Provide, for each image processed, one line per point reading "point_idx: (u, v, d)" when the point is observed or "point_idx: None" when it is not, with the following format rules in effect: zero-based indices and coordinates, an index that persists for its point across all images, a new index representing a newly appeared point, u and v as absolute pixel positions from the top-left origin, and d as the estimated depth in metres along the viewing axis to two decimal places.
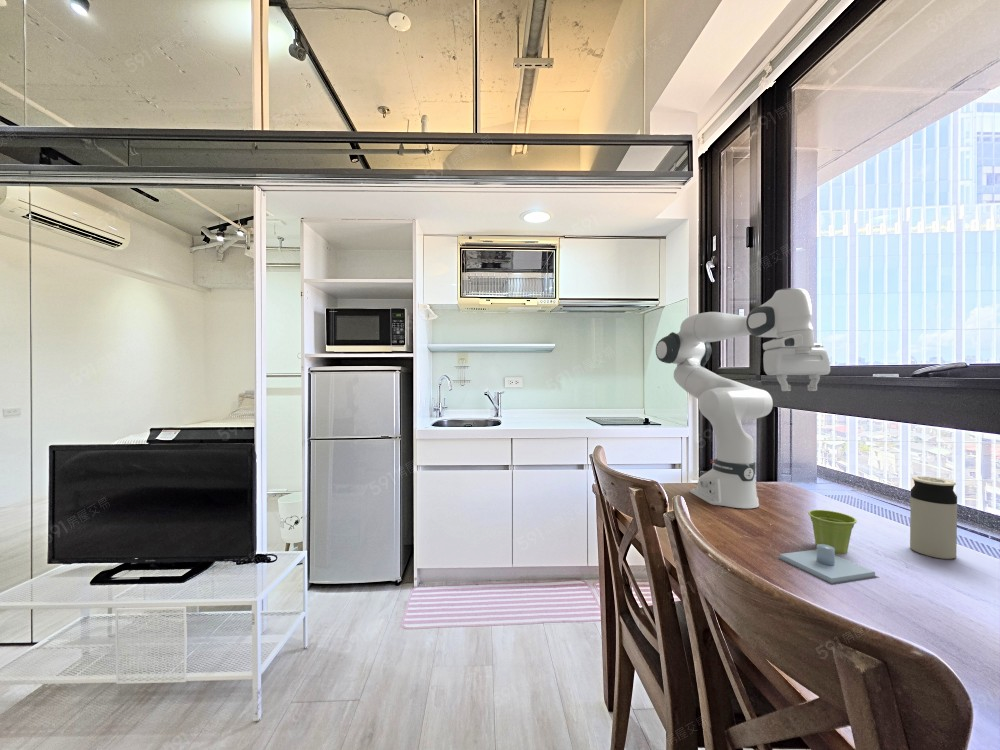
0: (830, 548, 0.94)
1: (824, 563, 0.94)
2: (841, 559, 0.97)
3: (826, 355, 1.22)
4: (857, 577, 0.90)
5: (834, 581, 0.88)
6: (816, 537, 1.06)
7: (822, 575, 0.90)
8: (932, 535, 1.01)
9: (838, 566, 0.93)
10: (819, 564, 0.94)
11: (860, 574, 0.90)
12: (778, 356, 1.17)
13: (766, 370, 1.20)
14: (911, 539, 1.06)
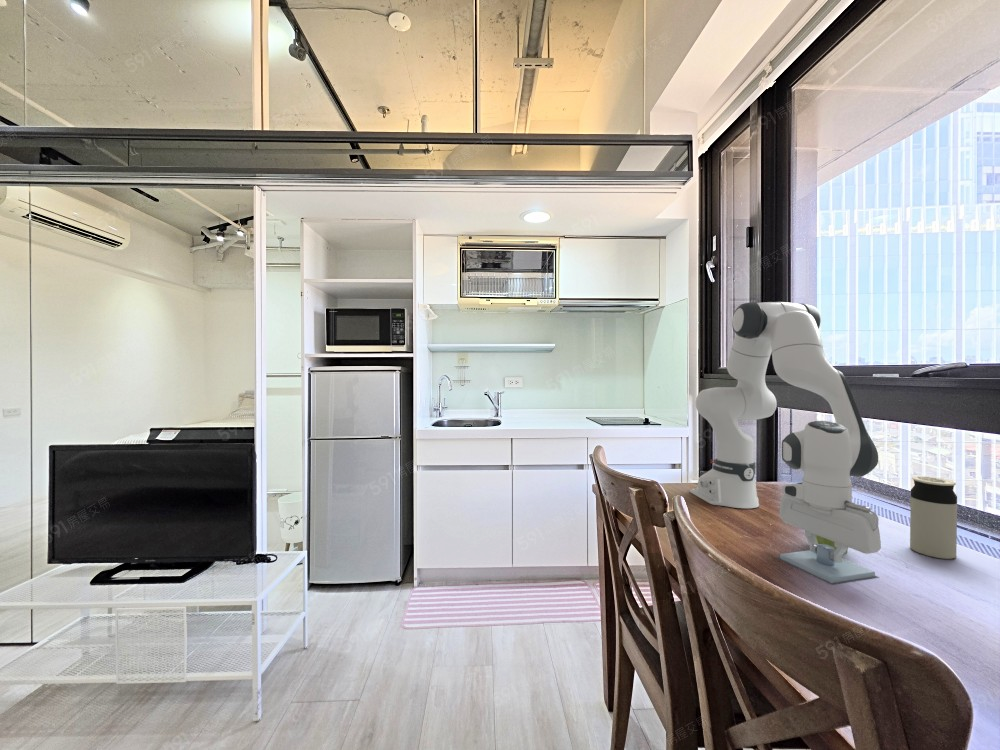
0: (830, 548, 0.94)
1: (824, 563, 0.94)
2: None
3: (862, 526, 0.86)
4: (857, 577, 0.90)
5: (834, 581, 0.88)
6: (816, 537, 1.06)
7: (822, 575, 0.90)
8: (932, 535, 1.01)
9: (838, 566, 0.93)
10: (819, 564, 0.94)
11: (860, 574, 0.90)
12: (781, 503, 1.03)
13: None
14: (911, 539, 1.06)
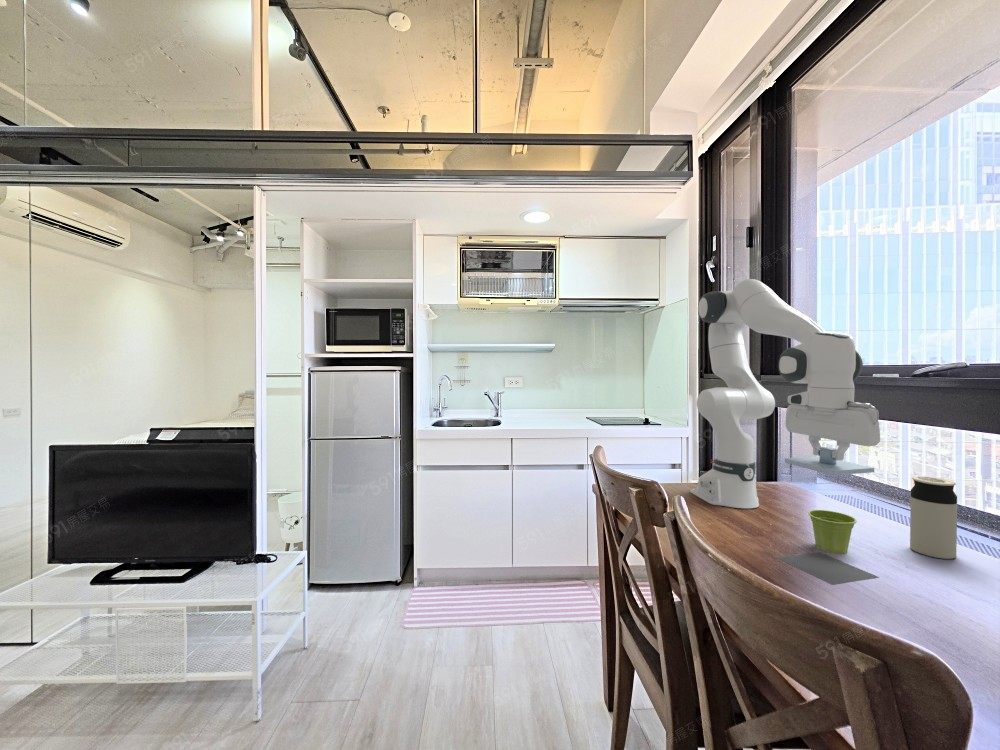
0: (832, 449, 1.00)
1: (826, 462, 1.00)
2: (843, 461, 1.03)
3: (862, 421, 0.92)
4: (857, 472, 0.96)
5: (835, 474, 0.94)
6: (816, 537, 1.06)
7: (824, 470, 0.96)
8: (932, 535, 1.01)
9: (839, 465, 0.99)
10: (821, 463, 1.00)
11: (860, 469, 0.96)
12: (787, 413, 1.09)
13: None
14: (911, 539, 1.06)
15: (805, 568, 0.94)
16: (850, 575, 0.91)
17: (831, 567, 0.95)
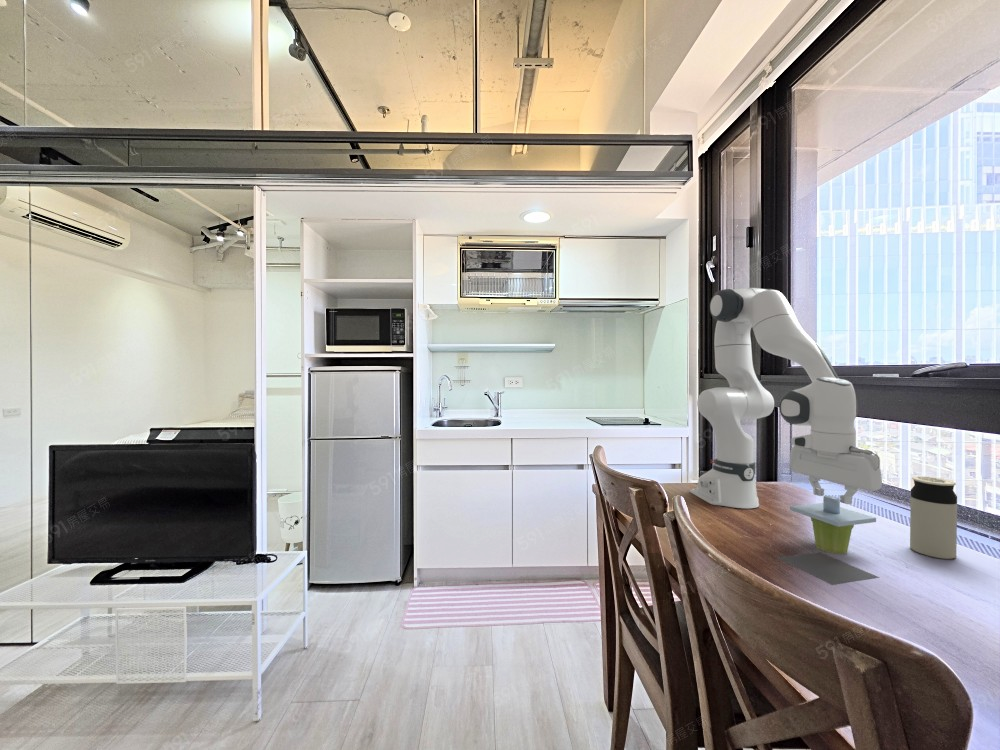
0: (836, 498, 1.04)
1: (830, 512, 1.04)
2: (845, 509, 1.07)
3: (865, 466, 0.96)
4: (860, 522, 1.00)
5: (840, 525, 0.98)
6: (816, 537, 1.06)
7: (829, 520, 1.00)
8: (932, 535, 1.01)
9: (843, 514, 1.03)
10: (826, 513, 1.04)
11: (863, 519, 1.00)
12: (791, 454, 1.13)
13: None
14: (911, 539, 1.06)
15: (805, 568, 0.94)
16: (850, 575, 0.91)
17: (831, 567, 0.95)
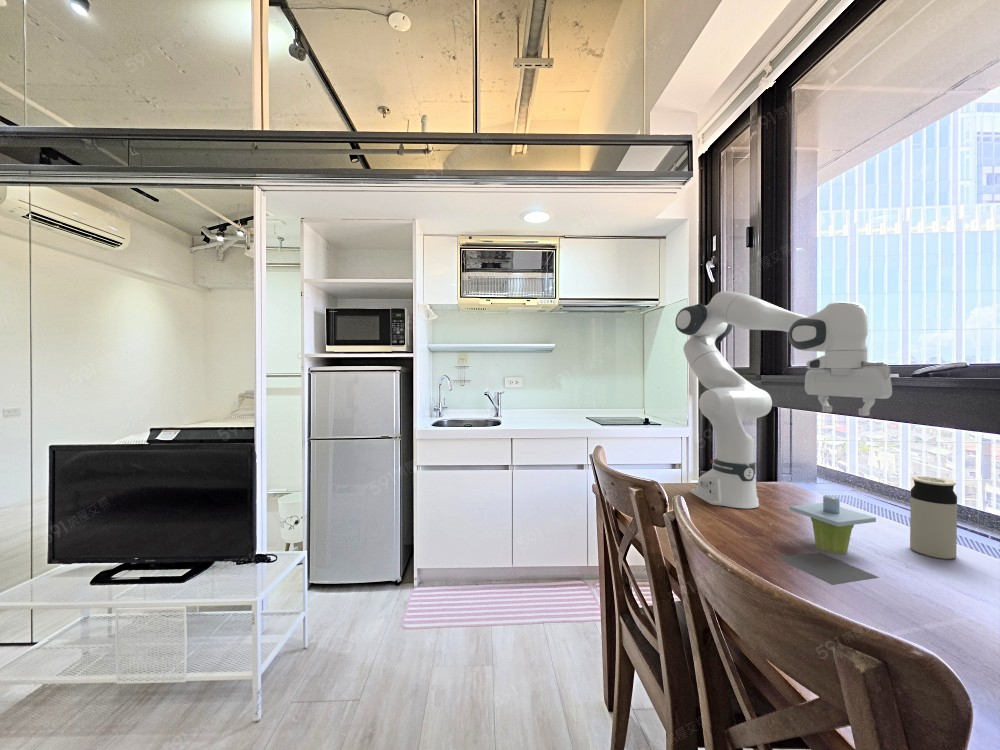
0: (835, 498, 1.04)
1: (830, 512, 1.04)
2: (845, 509, 1.07)
3: (876, 376, 1.05)
4: (860, 522, 1.00)
5: (840, 525, 0.98)
6: (816, 537, 1.06)
7: (829, 520, 1.00)
8: (932, 535, 1.01)
9: (843, 514, 1.03)
10: (826, 513, 1.04)
11: (863, 519, 1.00)
12: (806, 378, 1.22)
13: None
14: (911, 539, 1.06)
15: (805, 568, 0.94)
16: (850, 575, 0.91)
17: (831, 567, 0.95)
